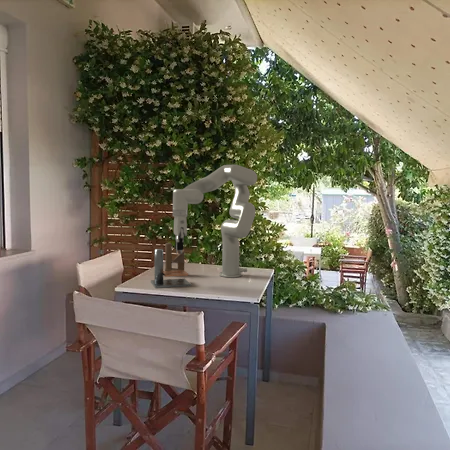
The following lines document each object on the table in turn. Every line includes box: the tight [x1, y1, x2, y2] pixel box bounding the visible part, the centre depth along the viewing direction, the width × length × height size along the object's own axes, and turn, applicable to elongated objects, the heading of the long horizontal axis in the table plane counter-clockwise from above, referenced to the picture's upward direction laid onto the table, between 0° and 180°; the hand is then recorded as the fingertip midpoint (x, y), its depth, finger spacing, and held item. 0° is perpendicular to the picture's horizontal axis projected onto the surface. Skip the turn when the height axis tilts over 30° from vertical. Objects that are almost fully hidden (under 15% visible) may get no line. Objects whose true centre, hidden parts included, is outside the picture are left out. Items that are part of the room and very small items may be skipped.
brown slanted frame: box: [164, 242, 185, 271], centre depth 249 cm, size 4×11×18 cm, turn 99°
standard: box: [150, 248, 192, 289], centre depth 225 cm, size 18×14×18 cm
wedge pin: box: [175, 235, 183, 255], centre depth 225 cm, size 3×3×10 cm
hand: (179, 249), depth 226 cm, fingers closed on wedge pin, 3 cm apart
